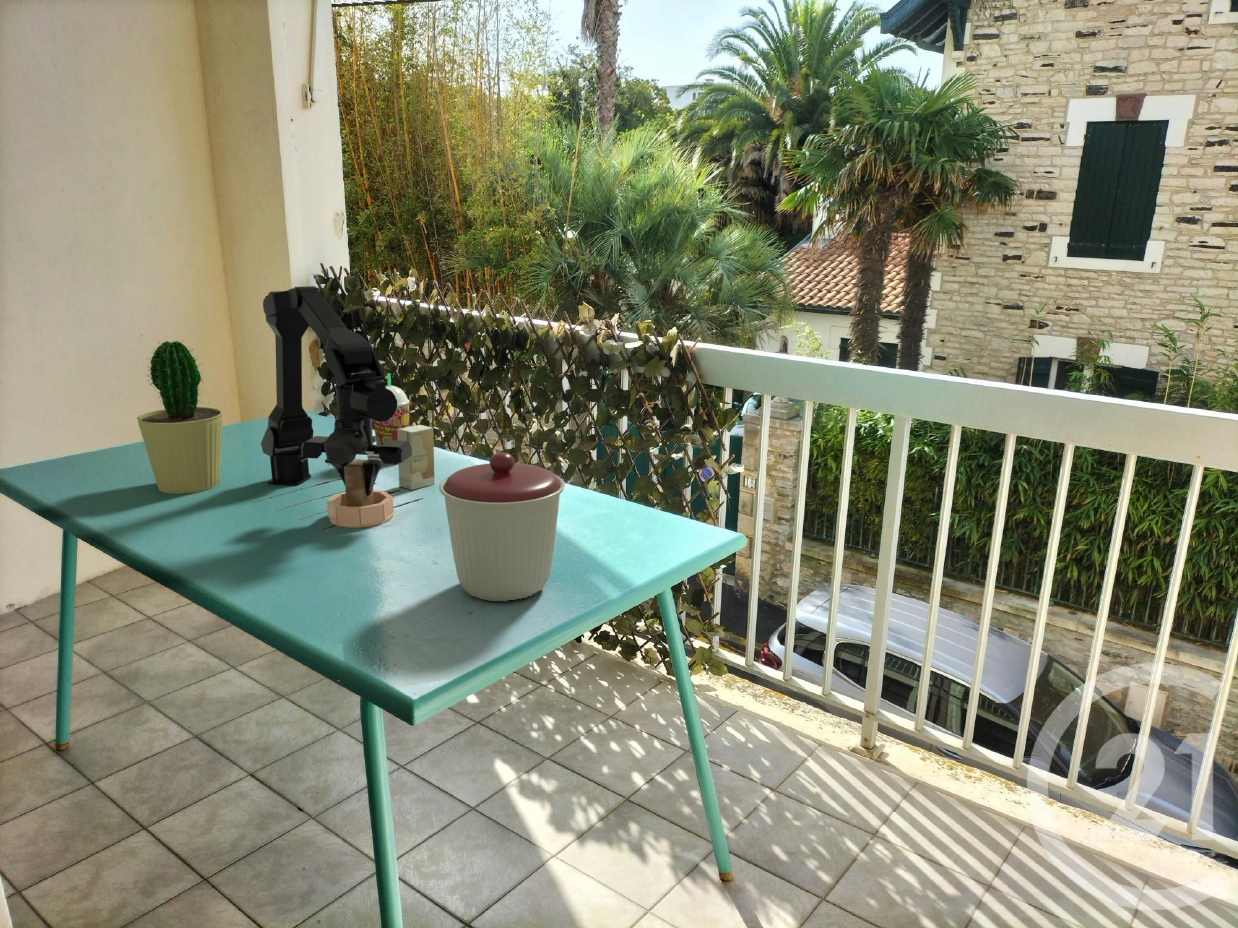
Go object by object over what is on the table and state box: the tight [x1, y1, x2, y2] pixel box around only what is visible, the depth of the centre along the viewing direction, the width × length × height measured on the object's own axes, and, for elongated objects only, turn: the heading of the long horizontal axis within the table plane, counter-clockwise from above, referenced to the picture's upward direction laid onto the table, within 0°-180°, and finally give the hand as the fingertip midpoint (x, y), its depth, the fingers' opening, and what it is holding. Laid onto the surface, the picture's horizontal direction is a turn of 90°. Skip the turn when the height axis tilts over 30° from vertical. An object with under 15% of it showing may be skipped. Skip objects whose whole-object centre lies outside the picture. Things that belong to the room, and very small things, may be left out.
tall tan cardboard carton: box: [344, 458, 374, 507], centre depth 157 cm, size 3×5×9 cm, turn 172°
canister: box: [438, 451, 566, 602], centre depth 127 cm, size 18×18×21 cm
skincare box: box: [397, 424, 435, 491], centre depth 177 cm, size 6×4×12 cm
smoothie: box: [373, 372, 410, 464], centre depth 193 cm, size 8×8×20 cm
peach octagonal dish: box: [326, 489, 395, 529], centre depth 158 cm, size 11×11×4 cm
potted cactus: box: [136, 340, 224, 495], centre depth 171 cm, size 15×15×30 cm
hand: (359, 494), depth 157 cm, fingers closed on tall tan cardboard carton, 3 cm apart
